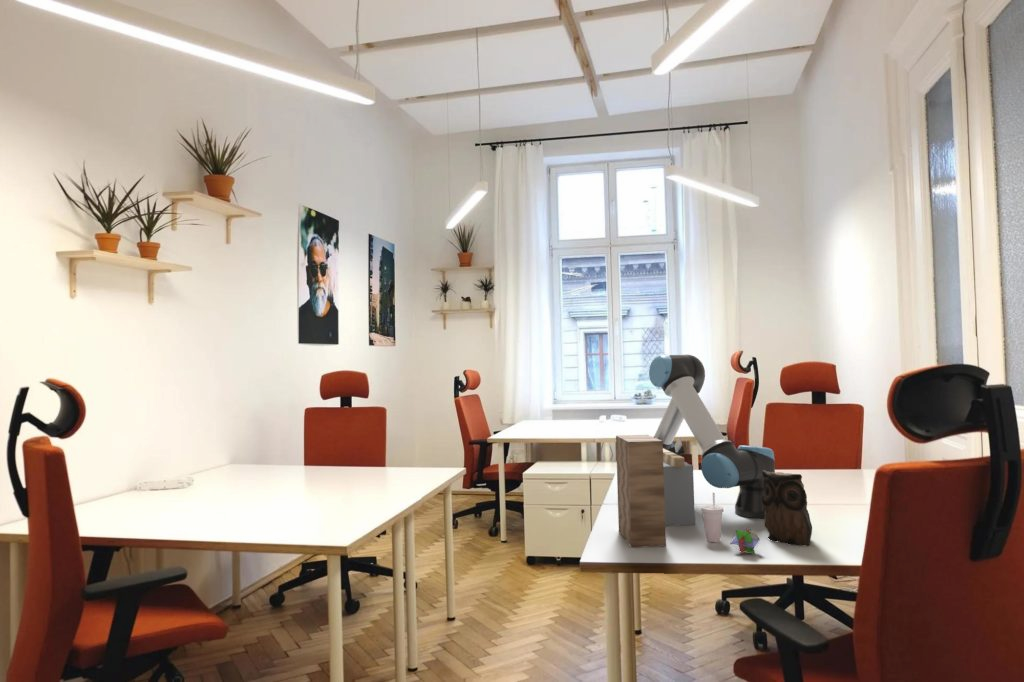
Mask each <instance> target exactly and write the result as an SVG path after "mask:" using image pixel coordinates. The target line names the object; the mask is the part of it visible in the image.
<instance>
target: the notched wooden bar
mask: <svg viewBox="0 0 1024 682" xmlns="http://www.w3.org/2000/svg"><path fill="white" fill-rule="evenodd" d="M663 461H664V462H666V463H668V464H670V465H672V466H674V467H685V462H686V461H685V457H684V456H682V455H681V456H679V455H677V454H675V453H673V452H670V451H668V450H666V449H663Z"/></svg>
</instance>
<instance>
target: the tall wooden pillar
mask: <svg viewBox="0 0 1024 682" xmlns="http://www.w3.org/2000/svg"><path fill="white" fill-rule="evenodd" d="M615 441H616V442H615V447H616V449H615V450H616V477H617V478H616V480H617V481H616V482H617V516H618V519H617V520H618V522H617V523H618V532H620V533H621V534H622V535H623V536H622V535H621V534H620V533H619V534H620V535H621V536H622V538H623V539H624V538H625V539H626V540H627V541H626V540H625V539H624V540H625V541H626V542H627V543H628V544H630V545H631V546H630V545H629V546H630V547H631V548H643V547H644V546H651V547H666V546H667V538H666V537H667V536H666V526H665V498H664V467H663V441H662V440H659V439H657V438H654V436H652V435H649V434H629V435H624V434H623V435H621V434H620V435H616V436H615ZM642 546H643V547H642Z"/></svg>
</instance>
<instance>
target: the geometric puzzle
mask: <svg viewBox="0 0 1024 682" xmlns="http://www.w3.org/2000/svg"><path fill="white" fill-rule="evenodd" d="M733 534H735V537H734V538H732V539H731V541H730V542H729V544H730V545H731V546H734V549H735V548H736V549H737V547H736V546H738V548H739V549H738V550H739V551H738V552H740V551H741V552H740V556H744V555H746V553H747V554H748V553H749V554H756V551H757V550H755V549H756V548H755V547H756V546H758V545H757V544H759V542H760V540H761V539H760V537H759V536H758V534H757V533H756V532H755V531H754V530H752V529H750V528H749V527H748V528H747V527H746V529H745V530H741V529H735V530H734V533H733ZM735 545H736V546H735Z"/></svg>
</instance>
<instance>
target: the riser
mask: <svg viewBox="0 0 1024 682" xmlns="http://www.w3.org/2000/svg"><path fill="white" fill-rule="evenodd" d="M684 462H685V467H674V466H672V465H670V464H668V463H666V462H664V461H663V467H664V498H665V525H674V526H695V525H696V517H695V515H696V514H695V512H696V511H695V488H694V487H695V485H694V484H695V483H694V465H693V464H690V463H689V462H686V461H684ZM694 524H695V525H694Z"/></svg>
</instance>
